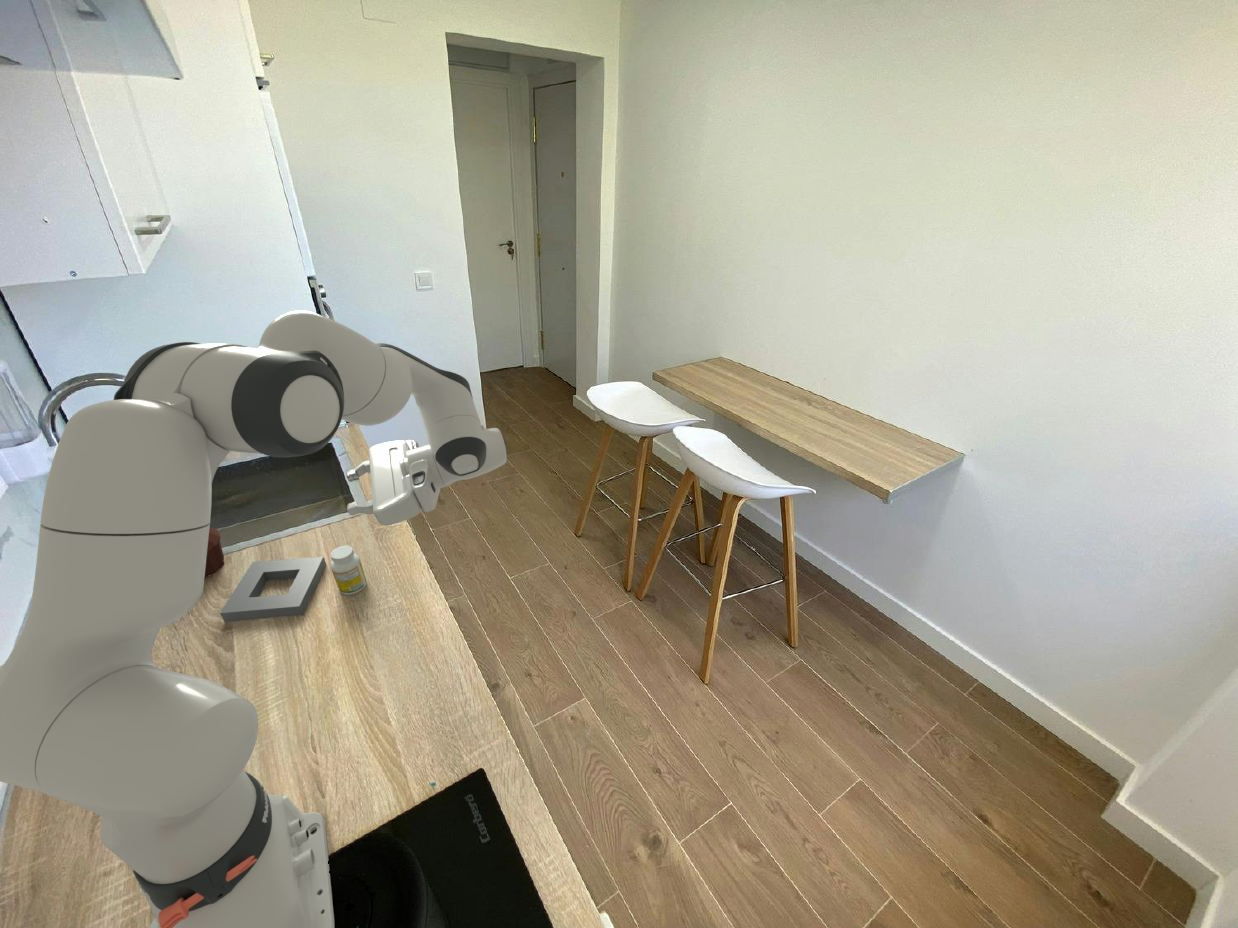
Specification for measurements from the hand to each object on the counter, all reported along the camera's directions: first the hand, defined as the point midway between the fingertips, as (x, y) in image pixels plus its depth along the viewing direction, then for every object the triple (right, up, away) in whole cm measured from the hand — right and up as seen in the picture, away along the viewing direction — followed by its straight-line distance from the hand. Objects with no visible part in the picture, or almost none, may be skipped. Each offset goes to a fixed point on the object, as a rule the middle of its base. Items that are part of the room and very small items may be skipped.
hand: (347, 492), depth 94 cm
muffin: (-40, -17, +15) cm, 46 cm away
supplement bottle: (-5, -21, +12) cm, 24 cm away
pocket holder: (-20, -21, +10) cm, 31 cm away
